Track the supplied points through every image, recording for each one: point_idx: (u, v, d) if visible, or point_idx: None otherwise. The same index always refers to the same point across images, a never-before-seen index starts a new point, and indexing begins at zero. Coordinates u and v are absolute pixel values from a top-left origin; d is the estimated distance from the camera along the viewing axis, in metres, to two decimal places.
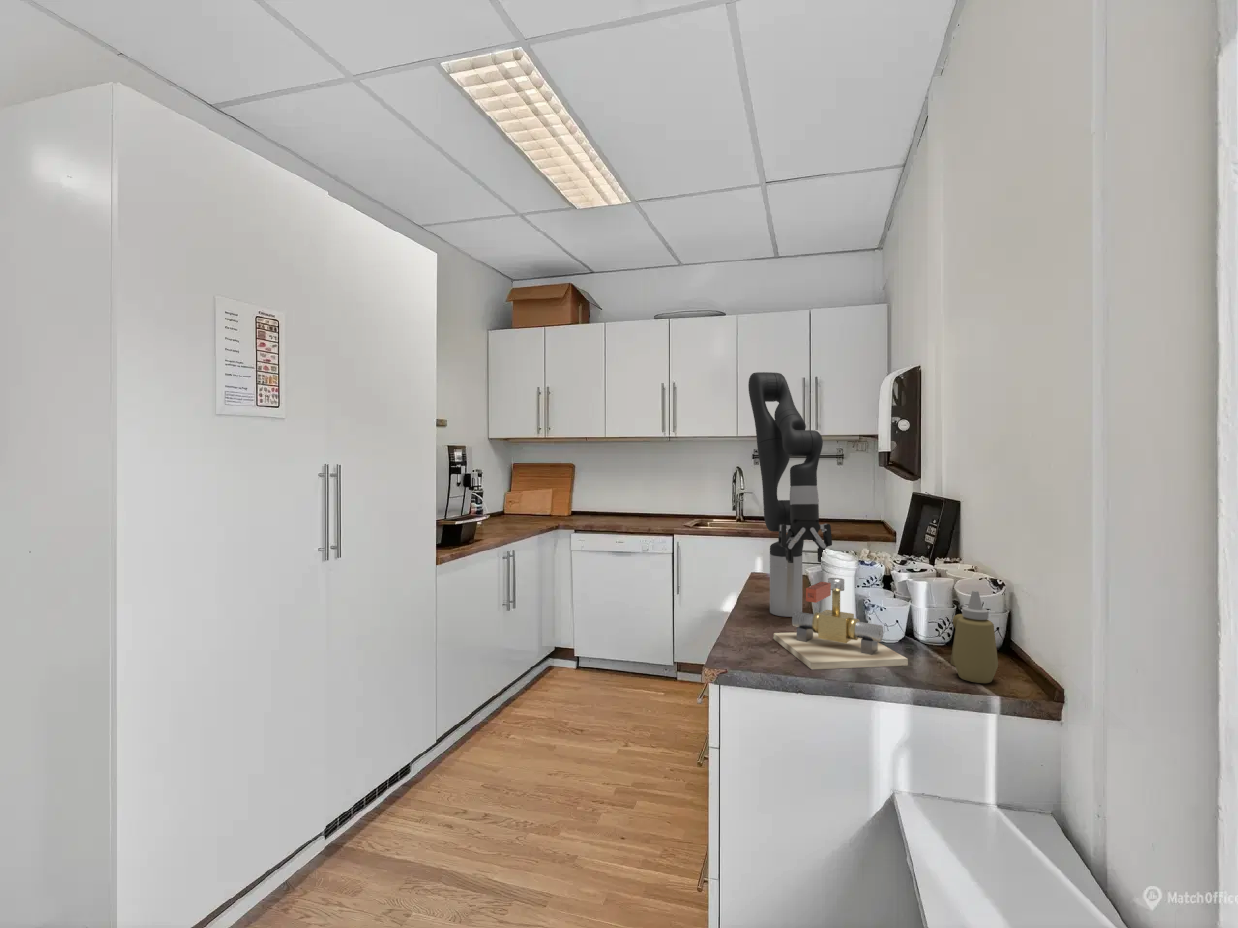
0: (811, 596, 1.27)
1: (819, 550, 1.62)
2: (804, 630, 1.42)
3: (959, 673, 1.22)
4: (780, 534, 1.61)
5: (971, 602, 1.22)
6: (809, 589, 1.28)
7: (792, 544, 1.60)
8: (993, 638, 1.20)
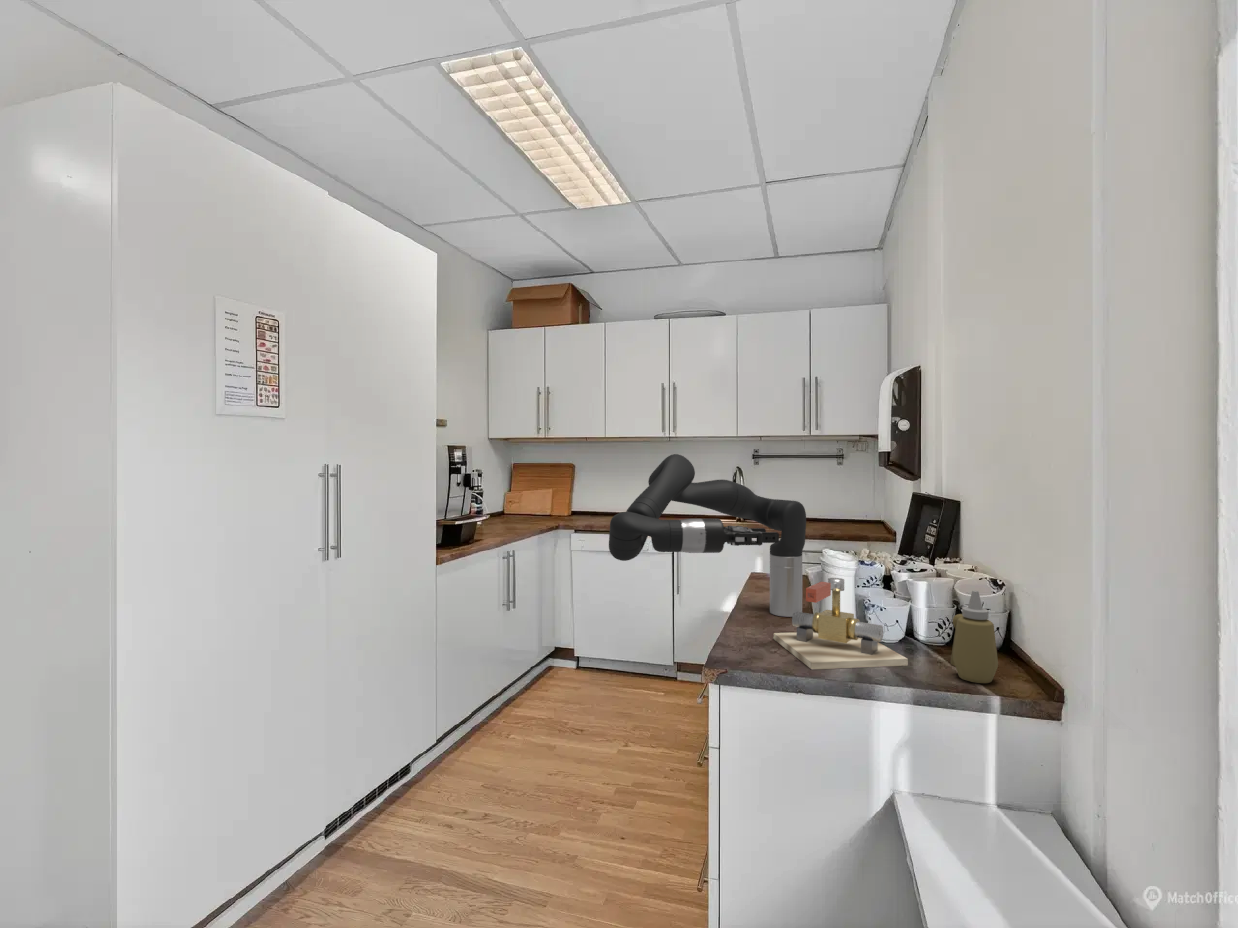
0: (811, 596, 1.27)
1: None
2: (804, 630, 1.42)
3: (959, 673, 1.22)
4: None
5: (971, 602, 1.22)
6: (809, 589, 1.28)
7: None
8: (993, 638, 1.20)
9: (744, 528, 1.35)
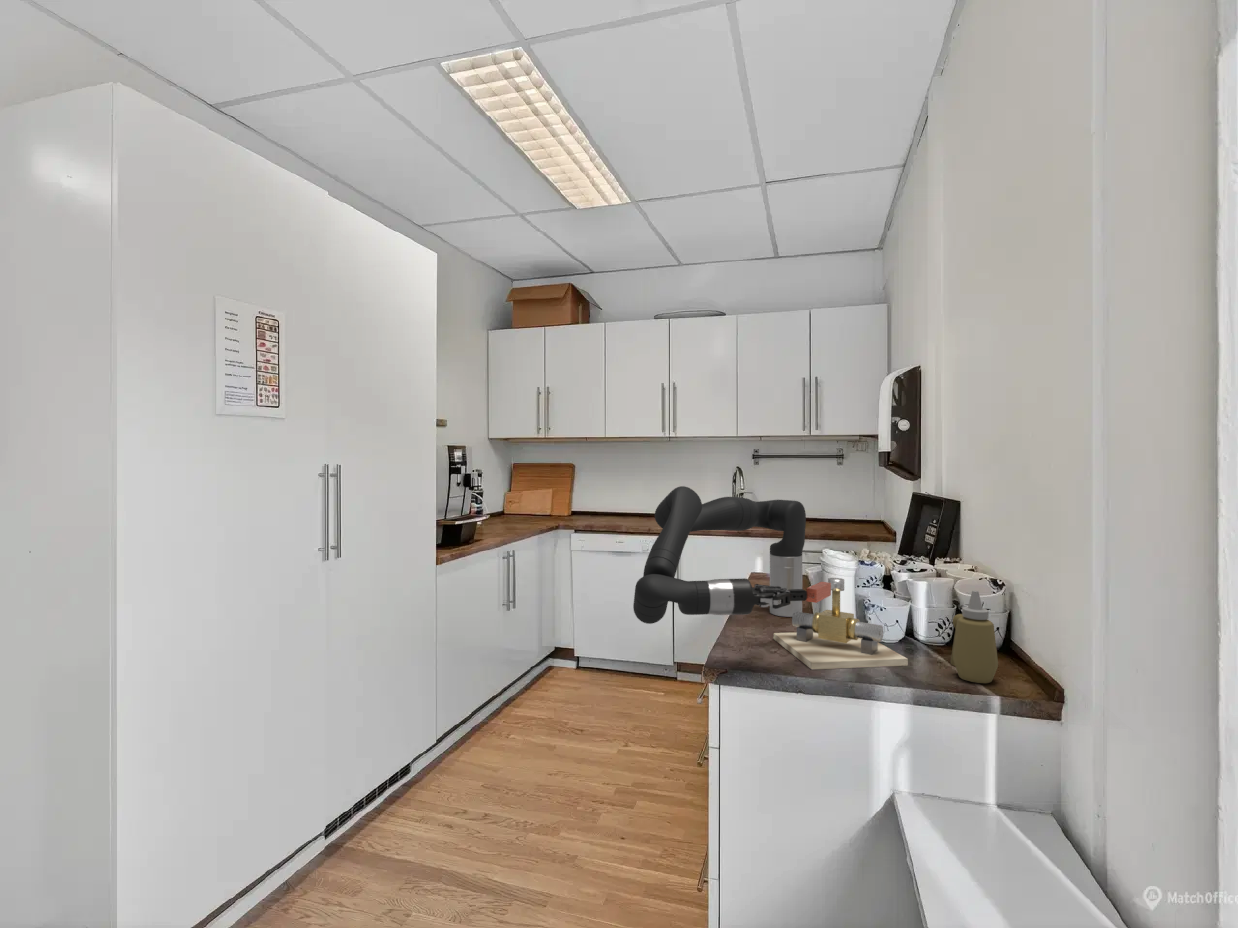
0: (811, 596, 1.27)
1: None
2: (804, 630, 1.42)
3: (959, 673, 1.22)
4: None
5: (971, 602, 1.22)
6: (809, 589, 1.28)
7: None
8: (993, 638, 1.20)
9: None
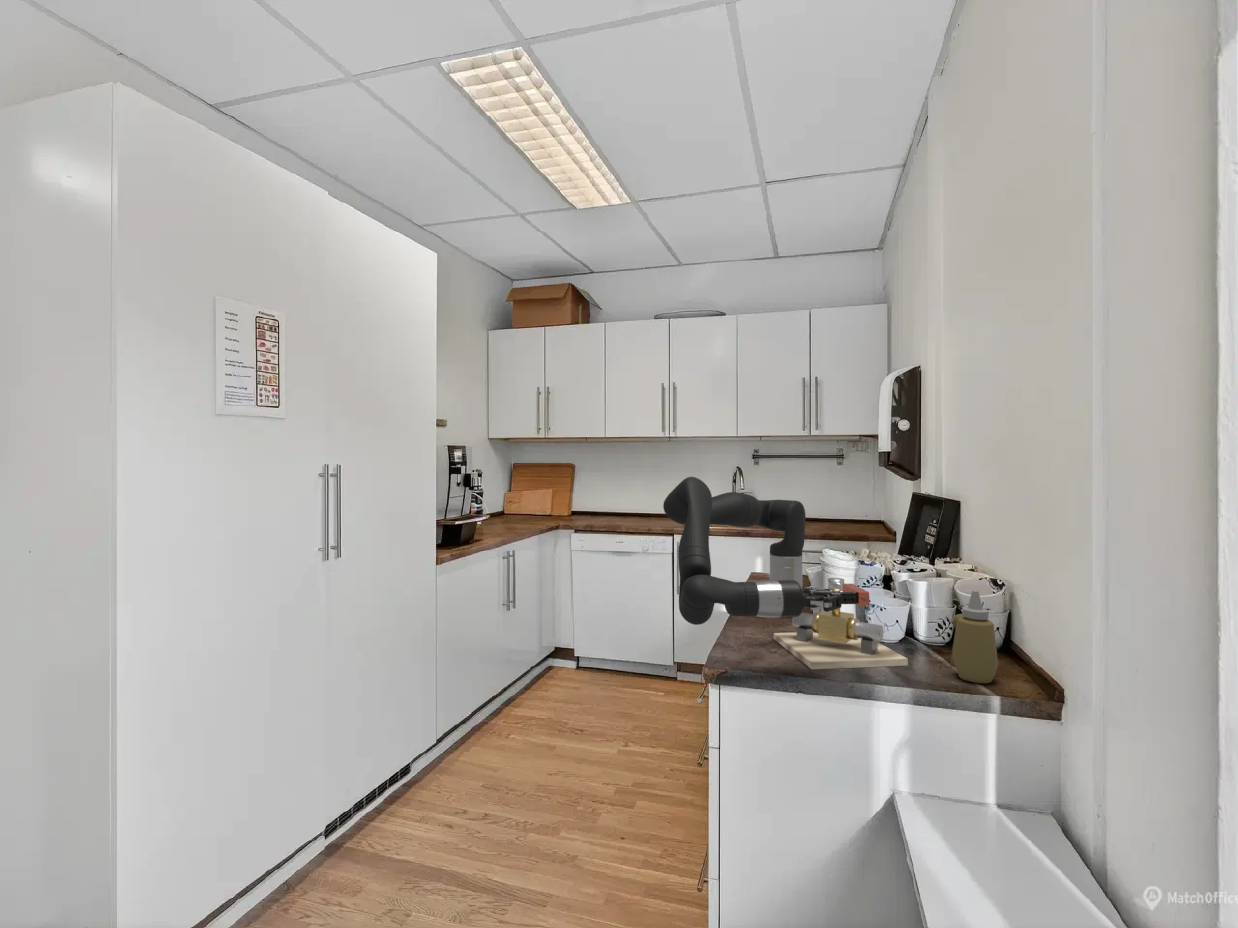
0: (864, 600, 1.24)
1: None
2: (804, 630, 1.42)
3: (959, 673, 1.22)
4: None
5: (971, 602, 1.22)
6: (862, 593, 1.24)
7: None
8: (993, 638, 1.20)
9: (828, 592, 1.25)
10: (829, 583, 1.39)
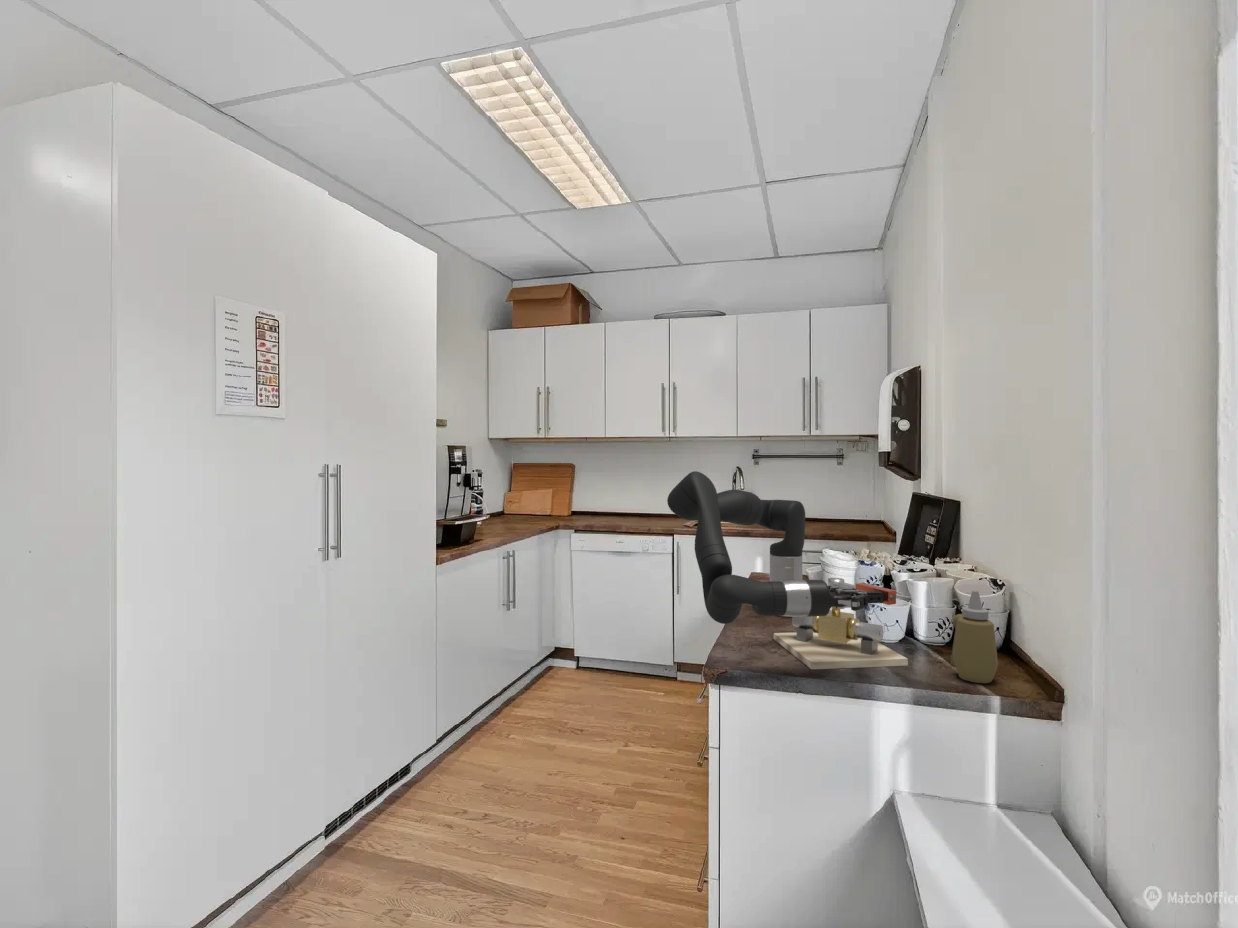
0: (892, 598, 1.25)
1: None
2: (804, 630, 1.42)
3: (959, 673, 1.22)
4: None
5: (971, 602, 1.22)
6: (890, 592, 1.25)
7: None
8: (993, 638, 1.20)
9: None
10: (831, 584, 1.39)
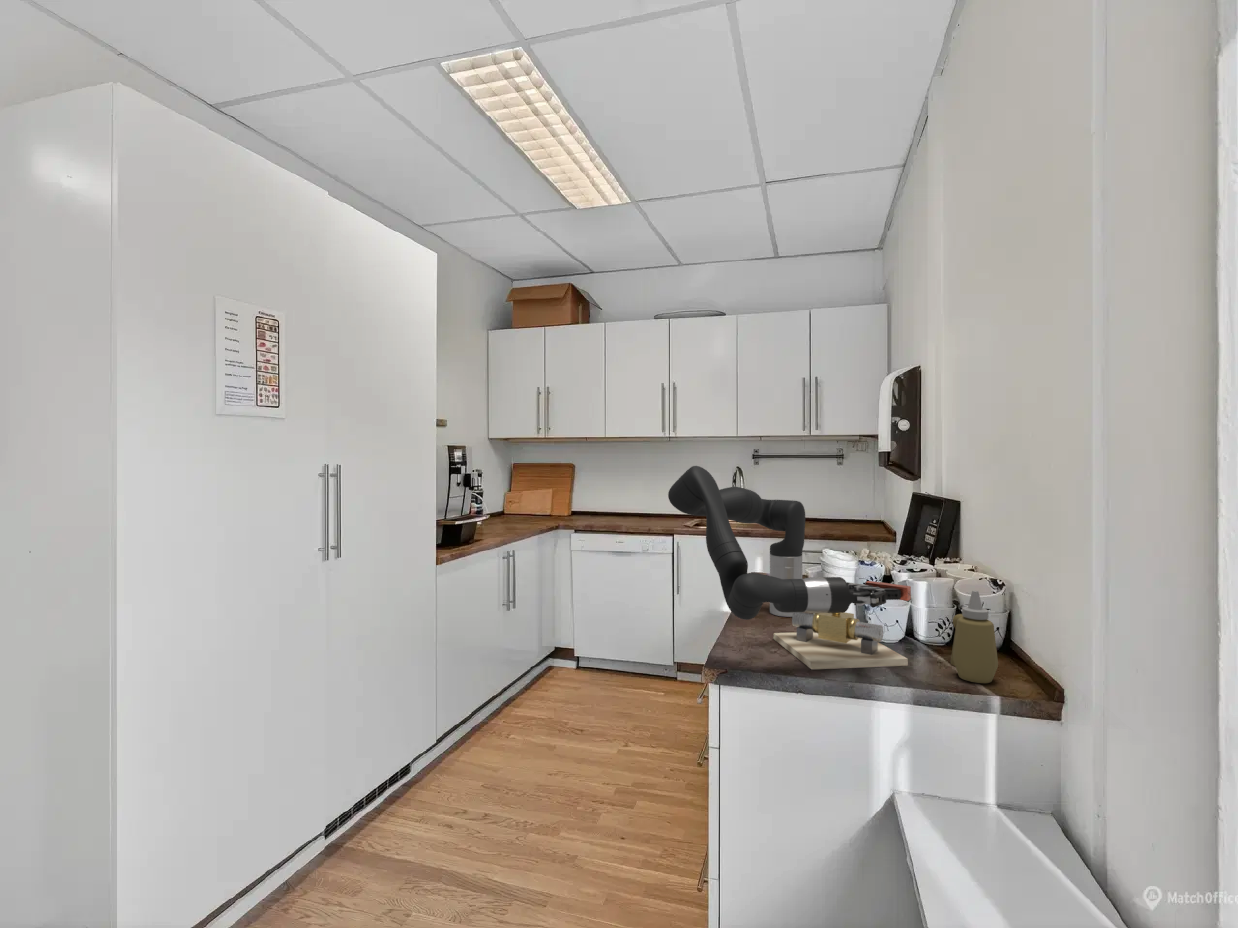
0: (909, 594, 1.29)
1: None
2: (804, 630, 1.42)
3: (959, 673, 1.22)
4: None
5: (971, 602, 1.22)
6: (908, 588, 1.29)
7: None
8: (993, 638, 1.20)
9: None
10: None
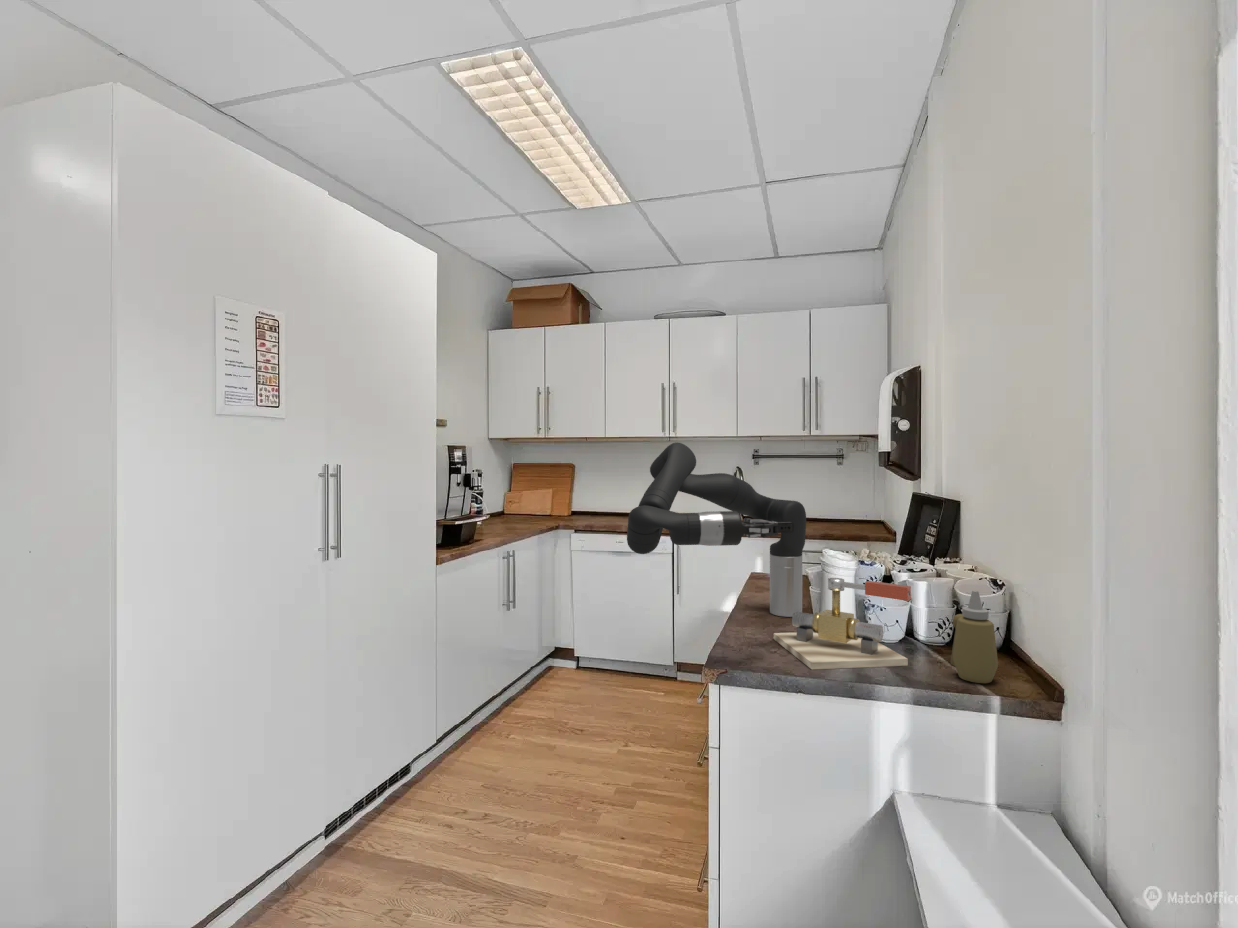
0: (909, 594, 1.29)
1: None
2: (804, 630, 1.42)
3: (959, 673, 1.22)
4: None
5: (971, 602, 1.22)
6: (908, 588, 1.29)
7: None
8: (993, 638, 1.20)
9: None
10: (835, 584, 1.38)
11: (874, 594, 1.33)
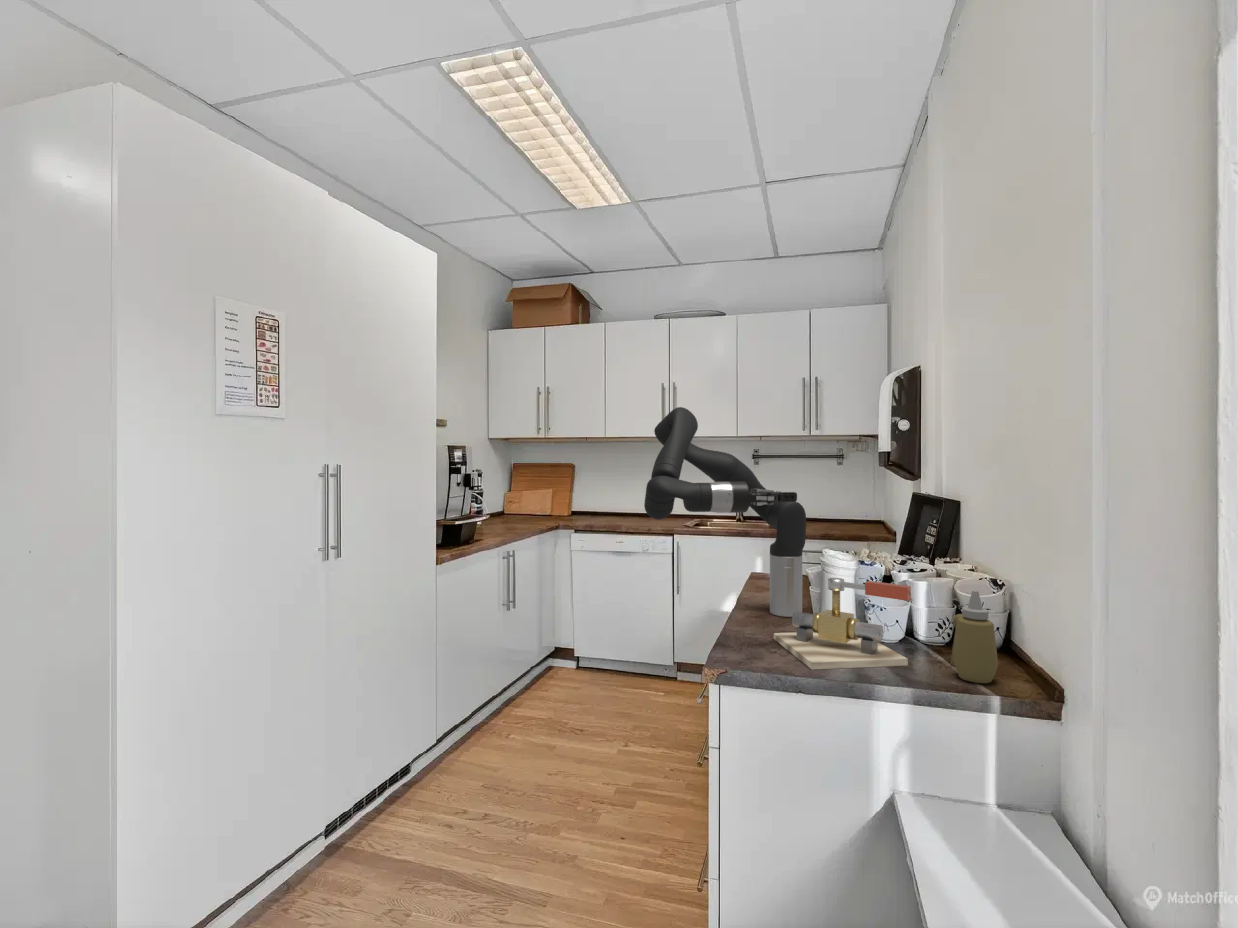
0: (909, 594, 1.29)
1: None
2: (804, 630, 1.42)
3: (959, 673, 1.22)
4: None
5: (971, 602, 1.22)
6: (908, 588, 1.29)
7: None
8: (993, 638, 1.20)
9: None
10: (835, 584, 1.38)
11: (874, 594, 1.33)
